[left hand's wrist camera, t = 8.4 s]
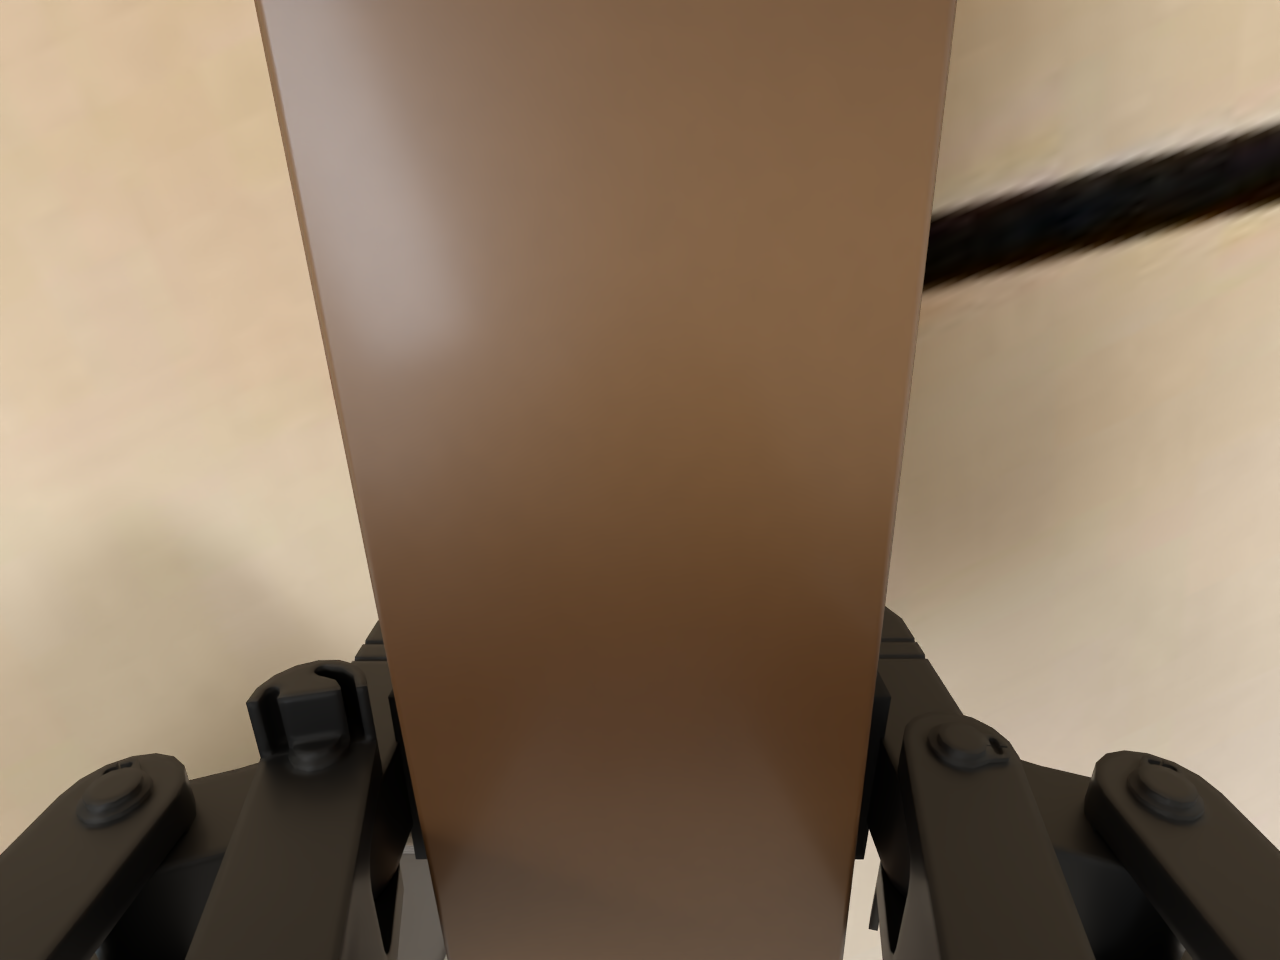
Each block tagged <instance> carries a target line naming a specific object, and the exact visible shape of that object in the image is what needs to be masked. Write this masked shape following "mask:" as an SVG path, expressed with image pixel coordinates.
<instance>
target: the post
mask: <svg viewBox="0 0 1280 960" xmlns="http://www.w3.org/2000/svg"><path fill="white" fill-rule="evenodd" d="M254 2H255V7H256V12H257V17H258V22H259V26H260V31H261V36H262V41H263V46H264V51H265V56H266V61H267V66H268V71H269V76H270V81H271V86H272V91H273V96H274V101H275V106H276V111H277V116H278V121H279V126H280V131H281V136H282V141H283V146H284V151H285V156H286V161H287V166H288V171H289V175H290V180H291V185H292V190H293V195H294V200H295V205H296V210H297V215H298V220H299V225H300V230H301V235H302V240H303V245H304V250H305V255H306V260H307V265H308V270H309V275H310V280H311V285H312V290H313V295H314V300H315V305H316V310H317V315H318V319H319V324H320V329H321V334H322V339H323V344H324V349H325V354H326V359H327V364H328V369H329V374H330V379H331V384H332V389H333V394H334V399H335V404H336V409H337V414H338V419H339V424H340V429H341V434H342V439H343V444H344V449H345V454H346V459H347V464H348V468H349V473H350V478H351V483H352V488H353V493H354V498H355V503H356V508H357V513H358V518H359V523H360V528H361V533H362V538H363V543H364V548H365V553H366V558H367V563H368V568H369V573H370V578H371V583H372V588H373V593H374V598H375V603H376V608H377V613H378V617H379V622H380V627H381V632H382V637H383V642H384V647H385V652H386V657H387V662H388V667H389V672H390V677H391V682H392V687H393V692H394V697H395V702H396V707H397V712H398V717H399V722H400V727H401V732H402V737H403V742H404V747H405V752H406V757H407V762H408V766H409V771H410V776H411V781H412V786H413V791H414V796H415V801H416V806H417V811H418V816H419V821H420V826H421V831H422V836H423V841H424V846H425V851H426V856H427V861H428V866H429V871H430V876H431V881H432V886H433V891H434V896H435V901H436V906H437V911H438V915H439V920H440V925H441V930H442V935H443V940H444V945H445V950H446V955H447V960H843V954H844V945H845V937H846V928H847V920H848V911H849V903H850V895H851V886H852V878H853V869H854V861H855V853H856V844H857V836H858V827H859V819H860V811H861V802H862V794H863V785H864V777H865V769H866V760H867V752H868V743H869V735H870V727H871V718H872V710H873V701H874V693H875V685H876V676H877V668H878V659H879V651H880V642H881V634H882V626H883V617H884V609H885V600H886V592H887V584H888V575H889V567H890V558H891V550H892V542H893V533H894V525H895V516H896V508H897V500H898V491H899V483H900V474H901V466H902V458H903V449H904V441H905V432H906V424H907V416H908V407H909V399H910V390H911V382H912V373H913V365H914V357H915V348H916V340H917V331H918V323H919V315H920V306H921V298H922V289H923V281H924V273H925V264H926V256H927V247H928V239H929V231H930V222H931V214H932V205H933V197H934V189H935V180H936V172H937V163H938V155H939V147H940V138H941V130H942V121H943V113H944V105H945V96H946V88H947V79H948V71H949V62H950V54H951V46H952V37H953V29H954V20H955V12H956V4H957V0H254Z"/></svg>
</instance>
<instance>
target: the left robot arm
mask: <svg viewBox="0 0 1280 960" xmlns="http://www.w3.org/2000/svg"><path fill="white" fill-rule="evenodd" d="M246 705H247V708H248V712H249V716H250V719H251V723H252V727H253V731H254V734H255V738H256V742H257V746H258V749H259V753H260V757H261V759H260V762H259V763H256V764H253V765H250V766H246V767H243V768H240V769H236V770H231V771H227V772H223V773H219V774H214V775H210V776H206V777H201V778H197V779H193V780H189V779H188V776H187V773H186V770H185V767H184V765H183V764H182V763H181V762H180V761H178V760H177V759H176V758H175V757H174V756H168V755H163V754H157V753H155V754H147V755H139V756H132V757H129V758H126V759H123V760H120V761H117V762H114V763H111V764H108V765H106V766H104V767H102V768H100V769H98V770H96V771H95V772H93V773H91V774H89V775H87V776H85V777H84V778H82V779H80V780H79V781H78V782H76V783H75V784H74V785H73V786H71V787H70V788H69V789H68V790H66V791H65V792H64V793H63V794H61V795H60V796H59V797H58V798H57V799H56V800H55V801H54V802H53V803H52V804H51V805H50V806H49V807H48V808H47V809H46V810H45V811H44V812H43V813H42V814H41V815H40V816H39V817H38V818H37V819H36V820H35V821H34V822H33V823H32V824H31V825H30V826H29V827H28V828H27V829H26V830H25V831H24V832H23V833H22V834H21V835H20V836H19V837H18V838H17V839H16V840H15V841H14V842H13V843H12V844H11V845H10V846H9V847H8V848H7V849H6V850H5V851H4V852H3V853H2V854H1V855H0V960H447V955H446V950H445V945H444V940H443V935H442V930H441V925H440V920H439V915H438V911H437V906H436V901H435V896H434V891H433V886H432V881H431V876H430V871H429V866H428V861H427V856H426V851H425V846H424V841H423V836H422V831H421V826H420V821H419V816H418V811H417V806H416V801H415V796H414V791H413V786H412V781H411V776H410V771H409V766H408V762H407V757H406V752H405V747H404V742H403V737H402V732H401V727H400V722H399V717H398V712H397V707H396V702H395V697H394V692H393V687H392V682H391V677H390V672H389V667H388V662H387V657H386V652H385V647H384V642H383V637H382V632H381V627H380V622H379V620H378V622H377V623H376V625H375V626H374V628H373V629H372V631H371V633H370V634H369V636H368V637H367V639H366V640H365V644H363V645H362V647H361V648H360V650H359V651H358V653H357V655H356V656H355V661H352V663H348V662H345V661H341V660H318V661H314V662H310V663H306V664H301V665H297V666H294V667H292V668H290V669H288V670H285V671H283V672H281V673H279V674H276V675H274V676H273V677H272V678H270V679H269V680H268V681H266V682H265V683H263V684H262V685H261V686H259V687H258V688H257V689H256V690H255V691H254V693H253V694H252V696H251V697H250V698H249V700H248V701H247V702H246ZM869 830H870V833H871V835H872V838H873V841H874V844H875V846H876V849H877V852H878V854H879V857H880V860H881V861H880V866H879V872H878V877H877V883H876V888H875V894H874V899H873V904H872V910H871V916H870V923H869V929H872V930H876V931H878V925H880V936H881V946H882V957H883V960H1280V851H1279V850H1278V849H1277V848H1276V847H1275V846H1274V845H1273V844H1272V843H1271V842H1270V841H1269V840H1268V839H1267V838H1266V837H1265V836H1264V835H1263V834H1262V833H1261V832H1260V831H1259V830H1258V829H1257V828H1256V827H1255V826H1254V825H1253V824H1252V823H1251V822H1250V821H1249V820H1248V819H1247V818H1246V817H1245V816H1244V815H1243V814H1242V813H1241V812H1240V811H1239V810H1238V809H1237V808H1236V807H1235V806H1234V805H1233V804H1232V803H1231V802H1230V801H1229V800H1228V799H1227V798H1226V797H1225V796H1224V795H1223V794H1222V793H1221V792H1219V791H1218V790H1217V789H1216V788H1214V787H1213V786H1212V785H1211V784H1209V783H1208V782H1207V781H1205V780H1204V779H1203V778H1202V777H1200V776H1199V775H1197V774H1195V773H1193V772H1191V771H1190V770H1188V769H1186V768H1184V767H1182V766H1180V765H1178V764H1176V763H1175V762H1172V761H1169V760H1166V759H1163V758H1160V757H1157V756H1154V755H1151V754H1148V753H1141V752H1133V751H1125V750H1124V751H1118V752H1113V753H1107V754H1105V755H1104V756H1103V757H1102V758H1101V759H1100V760H1099V761H1098V762H1096V765H1095V768H1094V771H1093V774H1092V777H1086V776H1082V775H1078V774H1073V773H1069V772H1065V771H1060V770H1056V769H1052V768H1047V767H1043V766H1039V765H1036V764H1033V763H1029V762H1026V761H1023V760H1020V758H1019V756H1018V754H1017V753H1016V751H1015V750H1014V748H1013V747H1012V745H1011V744H1010V742H1009V741H1008V740H1007V739H1005V738H1004V737H1003V736H1002V735H1001V734H999V733H998V732H997V731H996V730H995V729H993V728H992V727H990V726H988V725H986V724H984V723H982V722H980V721H978V720H976V719H974V718H972V717H968V716H964V715H963V714H962V712H961V711H960V709H959V707H958V706H957V704H956V703H955V701H954V700H953V698H952V696H951V695H950V693H949V692H948V690H947V689H946V687H945V685H944V684H943V682H942V681H941V679H940V678H939V676H938V674H937V673H936V671H935V670H934V668H933V667H932V665H931V664H930V662H929V660H928V659H925V654H924V653H923V651H922V649H921V648H920V646H919V645H918V643H917V642H915V641H914V637H913V635H912V634H911V632H910V631H909V629H908V627H907V626H906V624H905V623H904V621H903V620H902V618H900V617H899V616H898V615H896V614H895V613H894V612H892V611H891V610H890V609H888V608H887V607H885V609H884V617H883V626H882V634H881V642H880V651H879V659H878V668H877V676H876V685H875V693H874V701H873V710H872V718H871V727H870V735H869V743H868V752H867V760H866V769H865V777H864V785H863V794H862V802H861V811H860V819H859V827H858V836H857V844H856V853H855V859H864V855H865V849H866V843H867V837H868V831H869Z"/></svg>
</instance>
